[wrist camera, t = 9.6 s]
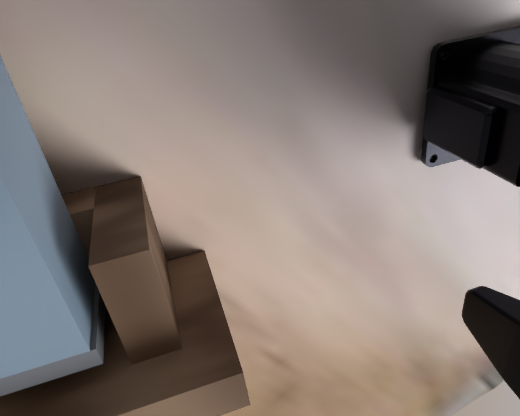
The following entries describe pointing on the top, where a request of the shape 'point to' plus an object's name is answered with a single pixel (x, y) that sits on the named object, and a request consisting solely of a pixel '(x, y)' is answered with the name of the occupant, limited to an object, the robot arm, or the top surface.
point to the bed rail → (40, 265)
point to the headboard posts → (143, 323)
